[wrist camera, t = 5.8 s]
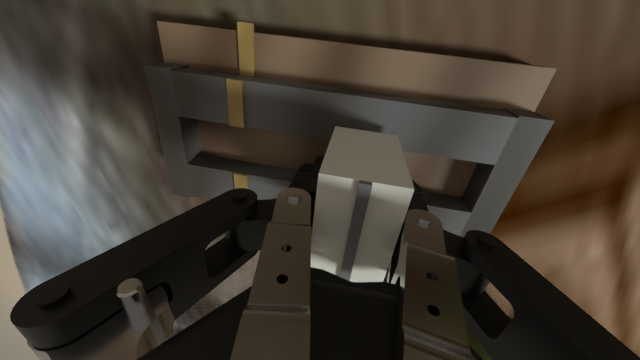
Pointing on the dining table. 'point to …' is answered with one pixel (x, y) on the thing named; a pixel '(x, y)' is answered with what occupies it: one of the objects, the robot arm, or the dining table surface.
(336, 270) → the fader knob
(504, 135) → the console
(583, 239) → the dining table surface
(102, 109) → the dining table surface
